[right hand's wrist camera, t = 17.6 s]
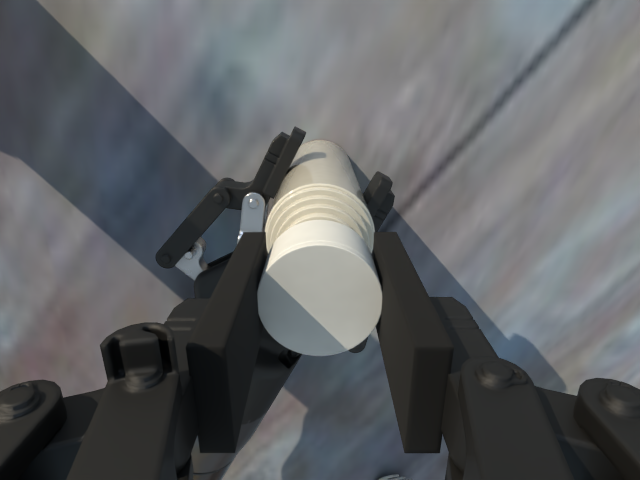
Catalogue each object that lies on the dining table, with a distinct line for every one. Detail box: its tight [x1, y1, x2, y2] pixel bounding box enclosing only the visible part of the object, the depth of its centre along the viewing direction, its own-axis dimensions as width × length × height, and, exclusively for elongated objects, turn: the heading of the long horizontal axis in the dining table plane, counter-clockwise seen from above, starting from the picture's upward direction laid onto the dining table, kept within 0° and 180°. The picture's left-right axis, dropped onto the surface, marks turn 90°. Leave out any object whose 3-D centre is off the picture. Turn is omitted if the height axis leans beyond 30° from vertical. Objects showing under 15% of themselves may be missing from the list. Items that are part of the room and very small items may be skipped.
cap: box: [257, 220, 382, 356], centre depth 13 cm, size 4×4×2 cm
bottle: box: [265, 140, 375, 254], centre depth 21 cm, size 5×5×18 cm
